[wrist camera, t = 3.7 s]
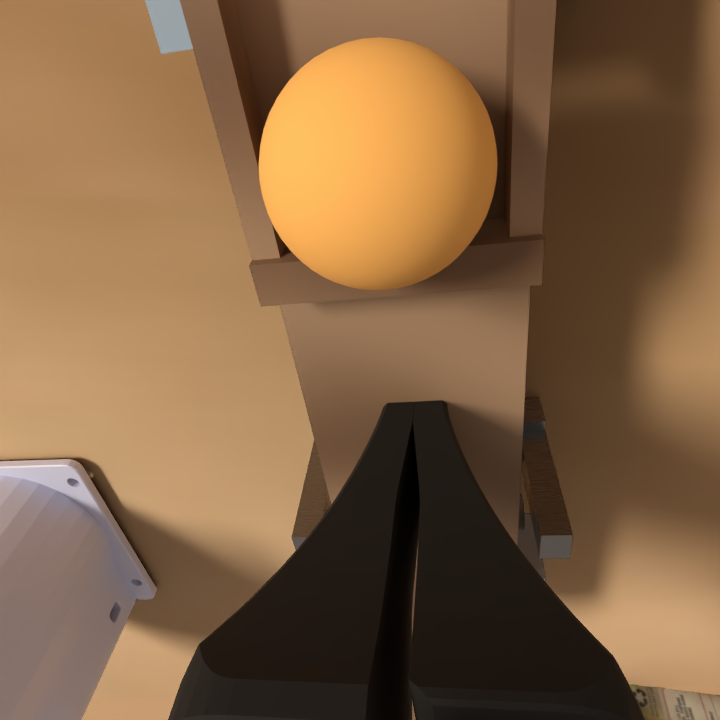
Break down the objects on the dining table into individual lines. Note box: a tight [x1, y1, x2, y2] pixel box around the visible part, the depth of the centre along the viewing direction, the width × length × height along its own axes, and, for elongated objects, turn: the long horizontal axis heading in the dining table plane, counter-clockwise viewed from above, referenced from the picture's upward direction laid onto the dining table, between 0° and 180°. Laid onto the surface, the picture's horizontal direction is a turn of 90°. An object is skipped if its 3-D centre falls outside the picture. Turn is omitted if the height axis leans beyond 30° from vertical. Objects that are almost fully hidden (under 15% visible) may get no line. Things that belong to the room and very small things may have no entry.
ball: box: [259, 37, 498, 290], centre depth 7 cm, size 3×3×3 cm
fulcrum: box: [292, 397, 573, 559], centre depth 17 cm, size 2×8×5 cm, turn 98°
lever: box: [180, 0, 557, 631], centre depth 14 cm, size 22×7×4 cm, turn 8°
